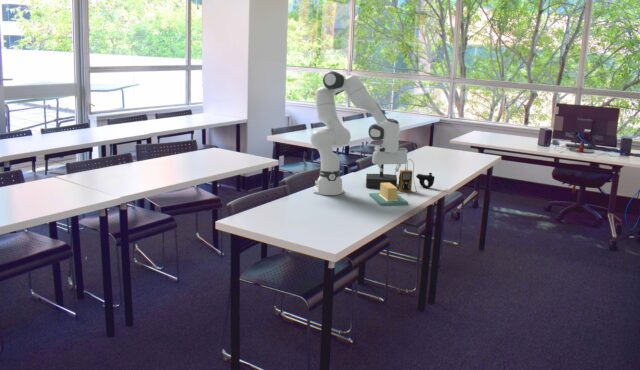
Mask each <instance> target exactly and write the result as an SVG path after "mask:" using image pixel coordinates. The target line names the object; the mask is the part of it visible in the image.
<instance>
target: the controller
mask: <svg viewBox="0 0 640 370" xmlns="http://www.w3.org/2000/svg"><path fill="white" fill-rule="evenodd" d="M416 178H417V179H418V181H419V185H420V186H421V187H422V188H424V189H429V188H431V187H432V186H433V185H434V183H435V176H433V172H429V173H428V174H421V173H417V174H416ZM425 181H426V182H427V184H426V183H425Z"/></svg>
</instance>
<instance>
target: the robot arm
mask: <svg viewBox="0 0 640 370" xmlns="http://www.w3.org/2000/svg"><path fill="white" fill-rule="evenodd" d="M322 83H323V86H321V87H319V88H317V90H316V91H315V104H316V112H317V119H318V121H319V122H321V123H323V124H324V125H325V126H326V128H321V129H316V130H314V131H312V132H311V134H310V138H309V140H310V143H311V145H312V146H313V147H314V148H316V150H317V151H318V153H319V157H320V169H319V177H318V178H317V180H315V181H314V186H313V193H314V194H317V195H318V194H319V195H323V196H337V195H340V194H344V193H345V191H346V190H344V189H343V180H342V177H340V175H341V170H340V160H341V159H340V157H339V155H338V154H337V153H335V152H334V151H333V148H335V147H342V146H345V145H348V144H349V143H350V142H351V138H352V135H351V132H350V130H349V129H347V128H346V127H345V126H344V125H343V124H342V123H341V122H340V119H339V117H338V113H337V107H336V103H335V96H338V95H339V94H341V93H343V92H346V94H347V96H348V98H349V100H350V102H351V103H352V105H353V106H355V107H356V108H358V109H360V110H364V111H366V112H368V113H370V115H371V116H372V117H373V118H374V120H375V122H376V123H373V124H371V125H370V126H369V128H368V135H369V138H370V139H371V140H373V141H382V143H381V144H378V145H376V146H374V151H373V153H372V158H371V163H373V165H377V167H378V168H379V173H380V172H383V173H384V169H382V168H381V167H380V166H381V164H384V165H396V166H397V167H395V169H394V171H396V173H397V172H400V169H401V166H402V165H407V161H408V149H407V148H406V147H399V145H400V143H399V142H400V141H399V137H400V129H401V128H400V123H399V121H398V120H397V119H395V118H387V115H385V113H384V112H383V110H382V109H381V107H380V106H379V104H378V103H377V101H375V99H373V97H372V96H371V94H370V92H369V91H368V90H367V88H366V86H365V84H364V83H363V82H362V80H361V79H360V78H359V77H358V76H357V75H355V74H350V75H348V76H345V75H343V74H341V73H340V72H338V71H334V70H333V71H332V70H331V71H327V72H326V73H325V74H324V75H323V76H322Z"/></svg>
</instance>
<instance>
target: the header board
mask: <svg viewBox="0 0 640 370" xmlns="http://www.w3.org/2000/svg"><path fill="white" fill-rule="evenodd" d="M368 194H369V197H370V198H372V200H374V201H375V202H376V203H377V204H379V205H380V207H381V206H404V205H406V206H407V205H409V201H408V200H407V199H405V198H403V197H402V196H401V195H399V193H397V200H386V199H385V198H384V197H383V196H381V195H380V192H369V193H368Z"/></svg>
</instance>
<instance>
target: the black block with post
mask: <svg viewBox="0 0 640 370" xmlns="http://www.w3.org/2000/svg"><path fill="white" fill-rule="evenodd" d="M384 166H385V164H381V166H380V167H381V168H382V169H383V170H384V169H385V168H384ZM365 177H366V178H365V188H367V189H380V183H391V184H392V185H394V186H395V187H397V188H398V177H397V174H391V173H390V174H388V173H384V171H383V172H380V171H379V173H366V176H365Z"/></svg>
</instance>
